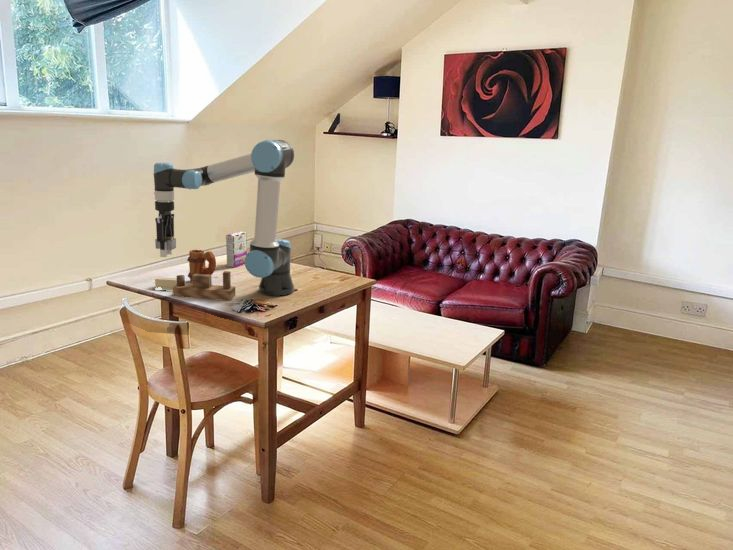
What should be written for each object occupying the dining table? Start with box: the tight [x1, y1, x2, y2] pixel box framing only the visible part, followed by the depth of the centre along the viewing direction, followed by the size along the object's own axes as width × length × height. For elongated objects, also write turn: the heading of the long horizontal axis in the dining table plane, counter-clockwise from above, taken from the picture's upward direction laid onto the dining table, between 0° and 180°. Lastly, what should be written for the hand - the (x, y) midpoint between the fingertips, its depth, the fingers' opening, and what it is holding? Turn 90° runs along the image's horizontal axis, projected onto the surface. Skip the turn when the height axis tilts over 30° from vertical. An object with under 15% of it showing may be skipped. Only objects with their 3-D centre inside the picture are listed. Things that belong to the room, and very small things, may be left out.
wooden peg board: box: [172, 270, 237, 302], centre depth 235 cm, size 24×7×11 cm, turn 85°
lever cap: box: [154, 237, 177, 251], centre depth 240 cm, size 7×4×5 cm, turn 85°
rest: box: [154, 276, 177, 292], centre depth 245 cm, size 10×10×4 cm
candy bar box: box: [225, 231, 248, 269], centre depth 286 cm, size 11×5×16 cm, turn 157°
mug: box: [187, 249, 217, 283], centre depth 253 cm, size 15×8×15 cm, turn 62°
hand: (166, 255), depth 241 cm, fingers closed on lever cap, 4 cm apart
